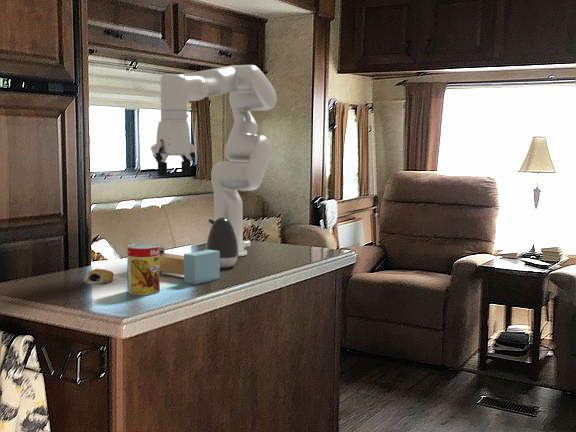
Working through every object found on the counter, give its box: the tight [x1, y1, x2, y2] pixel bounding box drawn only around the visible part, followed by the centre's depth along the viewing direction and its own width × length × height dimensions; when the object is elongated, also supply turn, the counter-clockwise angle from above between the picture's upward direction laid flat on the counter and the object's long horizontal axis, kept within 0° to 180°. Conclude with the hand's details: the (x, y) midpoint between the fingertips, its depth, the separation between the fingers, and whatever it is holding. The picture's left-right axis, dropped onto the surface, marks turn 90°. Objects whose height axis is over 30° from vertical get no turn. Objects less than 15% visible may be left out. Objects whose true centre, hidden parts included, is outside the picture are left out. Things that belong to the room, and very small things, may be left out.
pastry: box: [83, 268, 115, 285], centre depth 193 cm, size 9×7×4 cm
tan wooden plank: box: [159, 252, 184, 276], centre depth 199 cm, size 5×20×5 cm, turn 54°
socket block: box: [183, 249, 221, 286], centre depth 193 cm, size 10×4×8 cm, turn 144°
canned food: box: [127, 242, 161, 296], centre depth 179 cm, size 8×8×12 cm
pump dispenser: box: [205, 218, 239, 269], centre depth 215 cm, size 10×10×15 cm
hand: (174, 175), depth 207 cm, fingers open, 9 cm apart
